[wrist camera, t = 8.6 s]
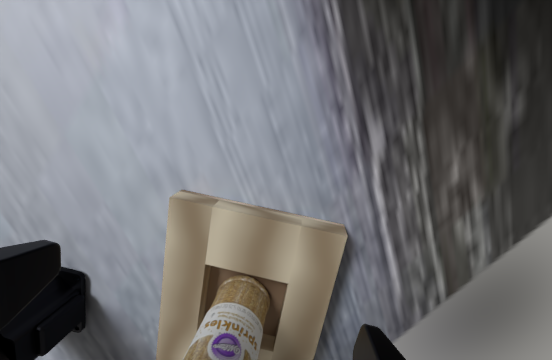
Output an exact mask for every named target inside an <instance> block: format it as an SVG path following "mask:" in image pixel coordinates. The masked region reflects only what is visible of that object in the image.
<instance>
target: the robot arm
mask: <svg viewBox="0 0 552 360" xmlns="http://www.w3.org/2000/svg"><path fill="white" fill-rule="evenodd" d="M84 328H85V276H84V274H83V273H82V272H80V271H75V270H71V269H67V268H63V267H61V248H60V245H59V244H58V243H55V242H51V241H48V240H40V241H35V242H29V243H24V244H18V245H13V246H7V247H2V248H0V360H35V359H36V358H37V357H38V356H44V355H45V354H47V353H48V352H49V351H50V350H51V349H52V348H53V347H54V346H56V345H57V344H58V343H59V342H60V341H61V340H62V339H63V338H64V337H65V336H66V335H68V334H69V333H70V332H71V331H73V332H77V333H79V332H81V331H82V330H83V329H84ZM353 360H406V359H405V358H404V357H403V356H402V354H401V353H400V352H399V351H398V350H397V348H396V347H395V346H394V345H393V344H392V343H391V341H390V340H389V339H388V338H387V337H386V335H385V334H384V333H383V332H382V331H381V330H380V329H379V328H378V327H375V326H372V325H368V324H364V325H362V327H361V329H360V332H359V334H358V337H357V340H356V343H355V346H354V350H353Z"/></svg>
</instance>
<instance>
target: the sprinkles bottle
mask: <svg viewBox="0 0 552 360" xmlns="http://www.w3.org/2000/svg"><path fill="white" fill-rule="evenodd" d="M269 306H270V298H269V295H268V292H267V291H266V289H265V287H264V286H263V285H262V284H261V283H260V282H258V281H257V280H255V279H254V278H251V277H249V276H244V275H239V276H234V277H230V278H229V279H227V280H225V281H224V282H223V283H222V284H221V285H220V287H219V289H218V292H217V295H216V298H215V300H214V302H213V304H212V306H211V307H210V309H209V311H208V312H207V314H206V315H205V317H204V319H203V321H202V323H201V325H200V327H199V329H198V331H197V333H196V335H195V337H194V339H193V340H192V342H191V344H190V346H189V348H188V350H187V352H186V354H185V356H184V358H183V360H257V359H258V354H259V350H260V345H261V340H262V335H263V326H264V322H265V317H266V314H267V312H268V310H269Z"/></svg>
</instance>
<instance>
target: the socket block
mask: <svg viewBox="0 0 552 360" xmlns="http://www.w3.org/2000/svg"><path fill="white" fill-rule="evenodd" d="M347 237H348V236H347V233H346V230H345V227H344V225H343V224H338V223H334V222H329V221H324V220H320V219H315V218H310V217H306V216H301V215H297V214H292V213H287V212H283V211H278V210H273V209H269V208H264V207H260V206H255V205H250V204H246V203H241V202H236V201H232V200H227V199H222V198H218V197H213V196H209V195H204V194H199V193H195V192H190V191H185V190H181V191H179V192H178V193H176V194H174V195H173V196H171V197H170V198H169V210H168V222H167V234H166V246H165V259H164V271H163V283H162V295H161V307H160V319H159V331H158V343H157V355H156V360H183V358H184V356H185V354H186V352H187V350H188V348H189V346H190V344H191V342H192V340H193V339H194V337H195V335H196V333H197V331H198V329H199V327H200V325H201V323H202V321H203V319H204V317H205V315H206V314H207V312H208V311H209V309H210V307H211V306H212V304H213V302H214V300H215V298H216V295H217V292H218V289H219V287H220V285H221V284H222V283H223V282H224V281H225V280H227V279H229V278H230V277H234V276H239V275H244V276H249V277H251V278H254V279H255V280H257V281H258V282H260V283H261V284H262V285H263V286H264V287H265V289H266V291H267V292H268V295H269V298H270V306H269V310H268V312H267V314H266V317H265V322H264V326H263V335H262V340H261V345H260V350H259V354H258V359H257V360H313V359H314V356H315V352H316V348H317V345H318V341H319V338H320V334H321V330H322V327H323V323H324V320H325V316H326V312H327V309H328V305H329V301H330V298H331V294H332V291H333V287H334V283H335V280H336V276H337V273H338V269H339V265H340V262H341V258H342V255H343V251H344V247H345V244H346V240H347Z"/></svg>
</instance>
